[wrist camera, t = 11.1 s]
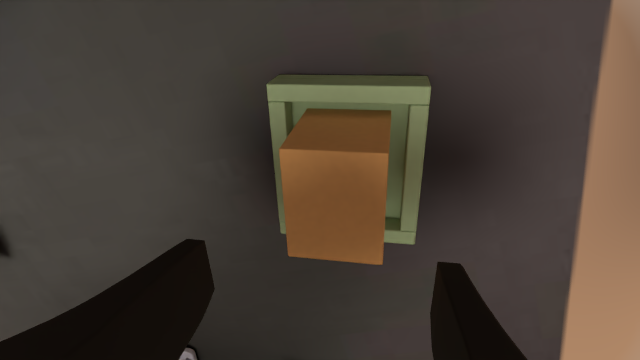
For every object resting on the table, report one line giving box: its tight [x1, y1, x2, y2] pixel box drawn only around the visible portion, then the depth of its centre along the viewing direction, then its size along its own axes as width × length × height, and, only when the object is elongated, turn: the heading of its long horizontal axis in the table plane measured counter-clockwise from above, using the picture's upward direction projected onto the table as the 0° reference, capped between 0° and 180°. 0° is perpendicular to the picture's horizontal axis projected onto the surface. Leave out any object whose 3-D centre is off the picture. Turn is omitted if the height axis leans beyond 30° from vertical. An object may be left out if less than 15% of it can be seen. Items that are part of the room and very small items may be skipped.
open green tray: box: [266, 75, 431, 245], centre depth 19 cm, size 8×7×2 cm
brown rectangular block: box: [279, 108, 391, 265], centre depth 17 cm, size 5×4×5 cm
